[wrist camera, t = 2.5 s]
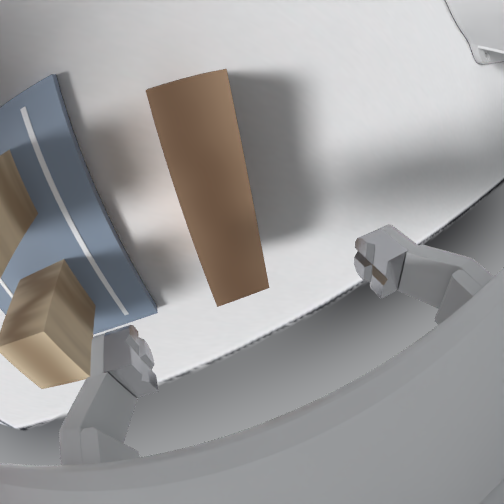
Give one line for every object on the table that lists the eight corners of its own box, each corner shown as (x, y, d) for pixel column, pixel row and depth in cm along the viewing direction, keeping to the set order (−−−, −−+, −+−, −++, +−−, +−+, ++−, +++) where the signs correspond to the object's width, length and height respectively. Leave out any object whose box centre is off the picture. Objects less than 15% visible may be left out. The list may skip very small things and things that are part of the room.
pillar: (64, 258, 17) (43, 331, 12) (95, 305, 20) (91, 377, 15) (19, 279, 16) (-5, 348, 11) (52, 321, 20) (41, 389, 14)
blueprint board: (55, 74, 11) (51, 74, 10) (156, 306, 23) (157, 313, 23) (-70, 174, 9) (-76, 178, 8) (40, 345, 21) (39, 351, 21)
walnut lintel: (203, 73, 15) (226, 69, 10) (241, 239, 23) (269, 287, 18) (148, 88, 14) (145, 90, 10) (199, 254, 22) (217, 306, 18)
